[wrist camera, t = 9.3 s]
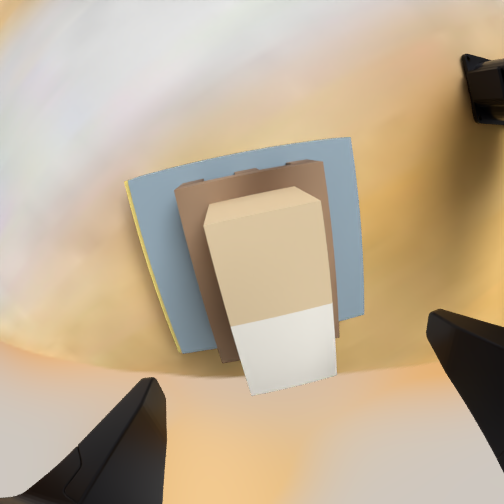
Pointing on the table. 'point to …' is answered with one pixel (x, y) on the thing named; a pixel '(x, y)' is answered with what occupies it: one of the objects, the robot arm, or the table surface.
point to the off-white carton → (287, 349)
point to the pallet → (230, 187)
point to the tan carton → (269, 254)
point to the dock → (176, 249)
